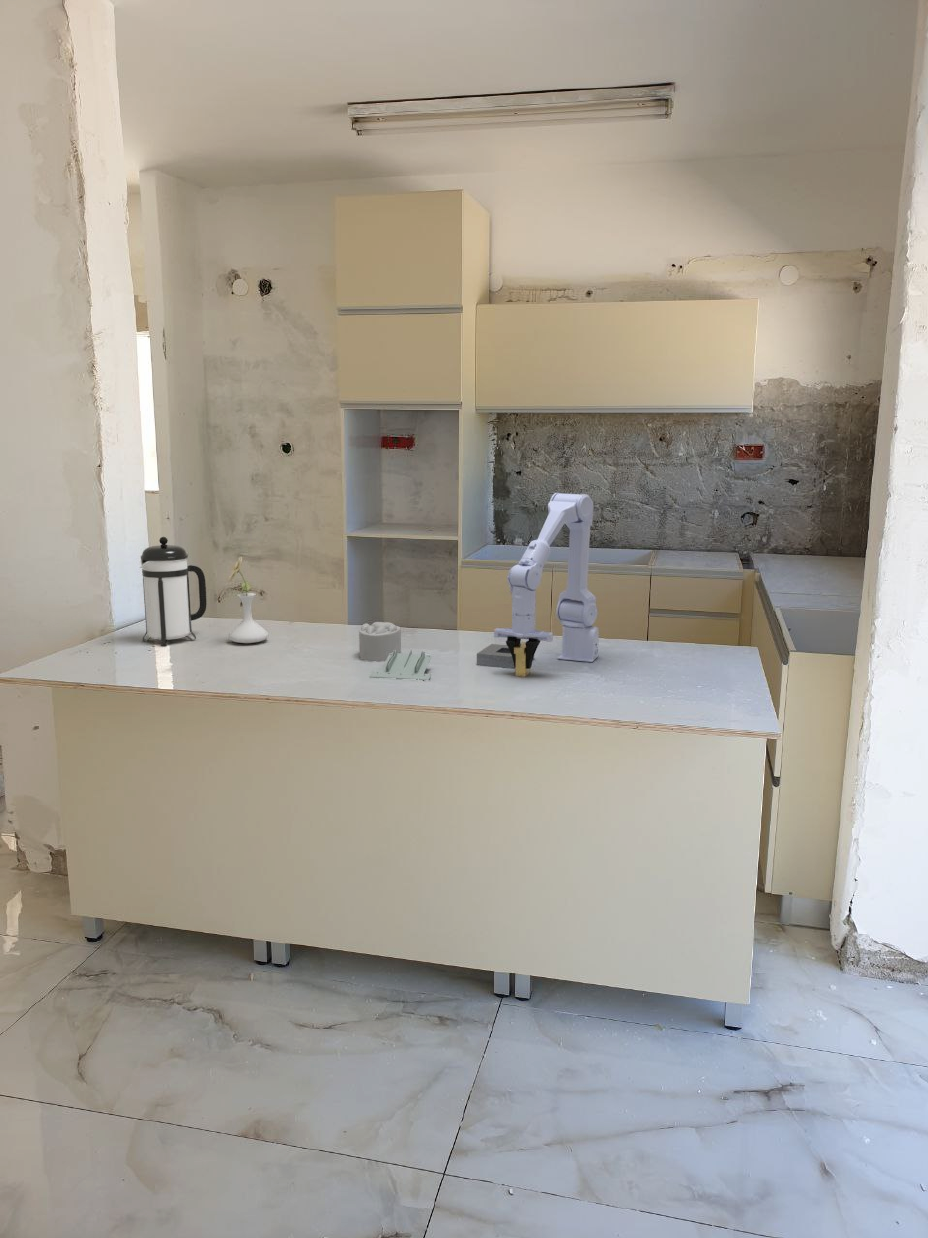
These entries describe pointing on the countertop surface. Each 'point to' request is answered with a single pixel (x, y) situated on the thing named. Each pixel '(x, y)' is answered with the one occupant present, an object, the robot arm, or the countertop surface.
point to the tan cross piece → (521, 660)
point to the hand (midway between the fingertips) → (522, 667)
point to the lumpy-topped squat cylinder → (379, 641)
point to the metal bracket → (404, 666)
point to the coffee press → (169, 592)
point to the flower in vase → (246, 616)
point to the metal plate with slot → (496, 656)
